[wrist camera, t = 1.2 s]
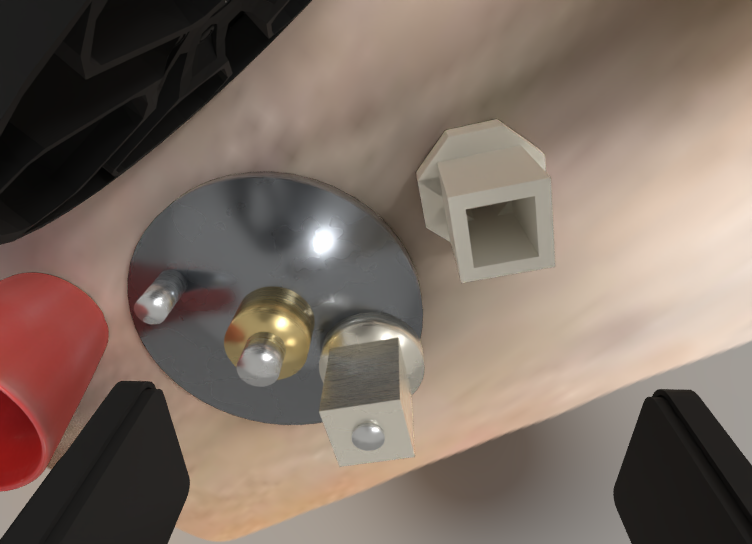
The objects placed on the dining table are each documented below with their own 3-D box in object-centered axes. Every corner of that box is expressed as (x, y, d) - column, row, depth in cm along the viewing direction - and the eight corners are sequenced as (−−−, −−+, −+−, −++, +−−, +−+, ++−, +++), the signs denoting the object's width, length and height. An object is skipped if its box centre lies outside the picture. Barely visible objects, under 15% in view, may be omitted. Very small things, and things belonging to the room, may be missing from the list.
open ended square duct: (534, 110, 26) (579, 143, 20) (541, 225, 29) (582, 283, 23) (409, 137, 27) (415, 177, 21) (429, 246, 30) (439, 308, 24)
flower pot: (42, 395, 37) (-62, 512, 28) (-66, 277, 32) (-230, 375, 24) (161, 360, 35) (87, 474, 26) (66, 228, 30) (-62, 316, 22)
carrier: (389, 140, 27) (389, 192, 19) (442, 393, 36) (455, 495, 28) (82, 206, 29) (-23, 275, 22) (202, 428, 38) (157, 531, 31)
